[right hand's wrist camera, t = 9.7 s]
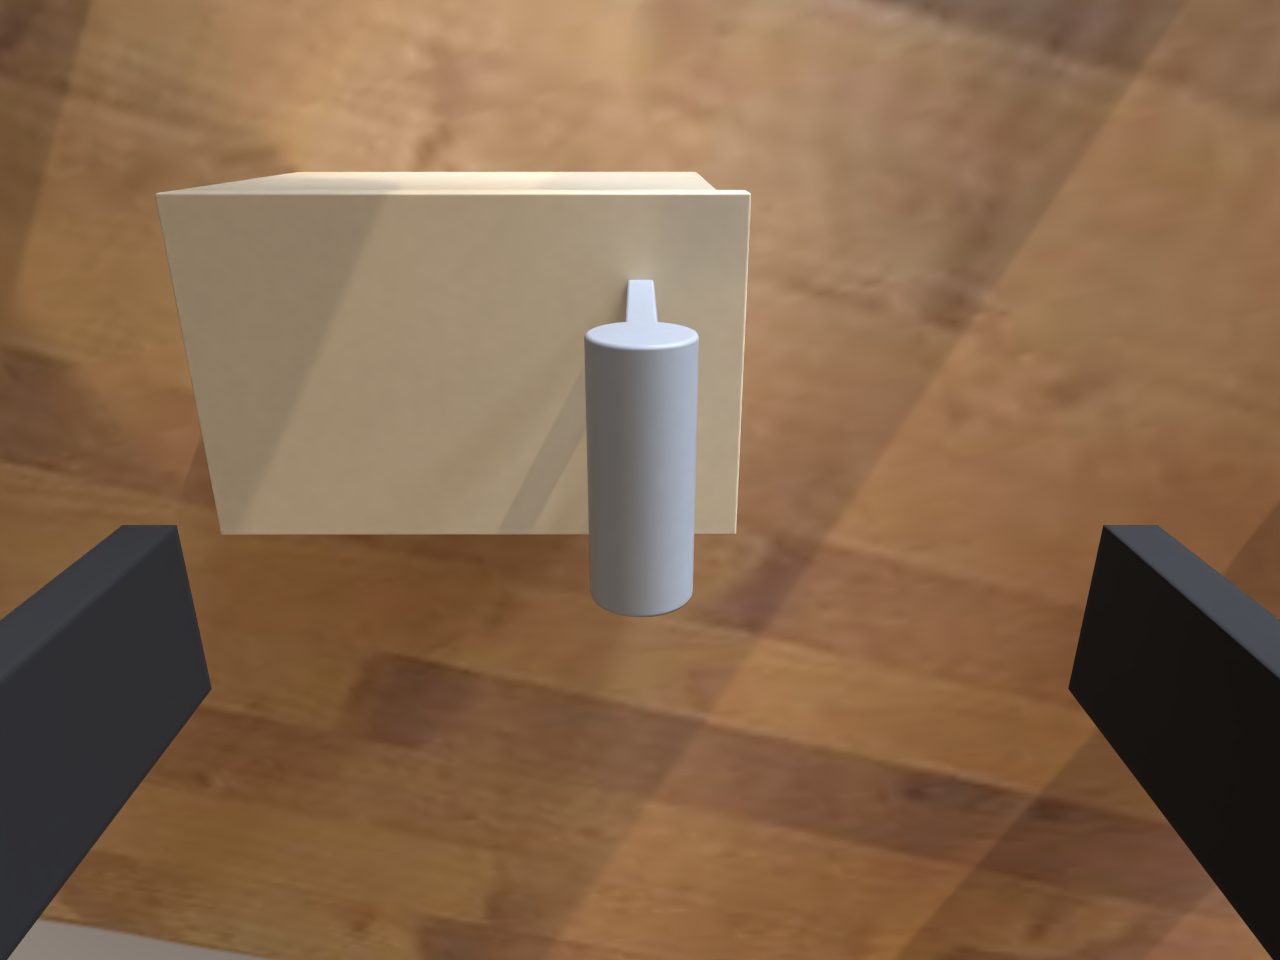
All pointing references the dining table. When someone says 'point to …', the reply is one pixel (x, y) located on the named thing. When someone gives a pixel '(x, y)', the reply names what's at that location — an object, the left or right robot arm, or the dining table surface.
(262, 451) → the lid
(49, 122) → the dining table surface
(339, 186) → the chest
